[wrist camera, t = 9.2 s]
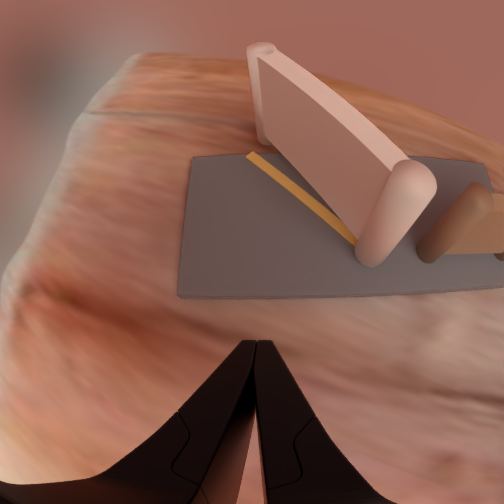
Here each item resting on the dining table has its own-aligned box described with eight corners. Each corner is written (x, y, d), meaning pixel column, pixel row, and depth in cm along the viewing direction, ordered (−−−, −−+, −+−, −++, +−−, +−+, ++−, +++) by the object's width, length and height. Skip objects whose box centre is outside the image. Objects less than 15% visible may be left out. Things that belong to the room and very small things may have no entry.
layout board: (478, 167, 21) (521, 105, 14) (510, 286, 18) (580, 246, 10) (195, 161, 23) (165, 83, 16) (180, 298, 20) (125, 252, 12)
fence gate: (392, 255, 18) (445, 186, 11) (368, 274, 18) (416, 210, 11) (273, 124, 23) (267, 37, 15) (250, 137, 22) (237, 49, 15)
